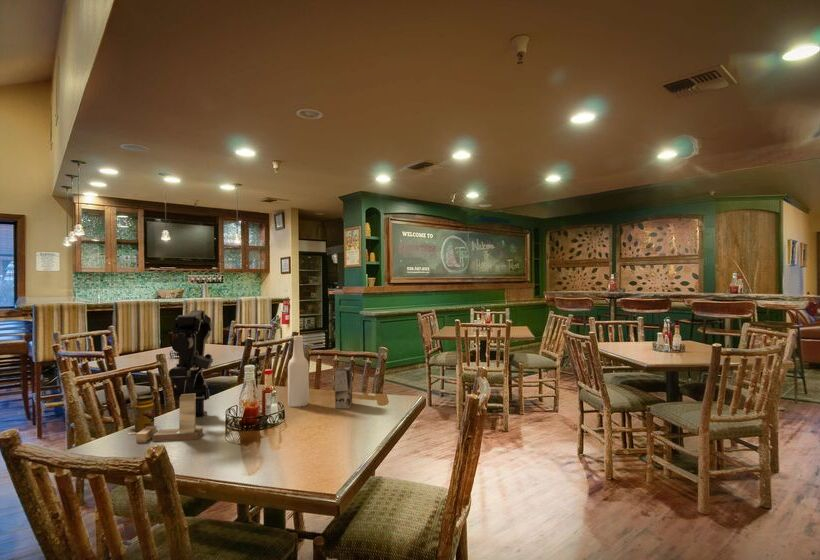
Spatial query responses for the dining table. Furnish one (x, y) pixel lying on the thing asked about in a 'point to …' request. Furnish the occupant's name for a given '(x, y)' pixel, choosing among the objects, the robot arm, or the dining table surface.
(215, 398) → the dining table surface
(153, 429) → the lintel
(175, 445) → the dining table surface
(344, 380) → the coffee box
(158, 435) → the flat wooden block
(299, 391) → the alcohol
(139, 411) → the condiment
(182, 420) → the birch post
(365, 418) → the dining table surface
